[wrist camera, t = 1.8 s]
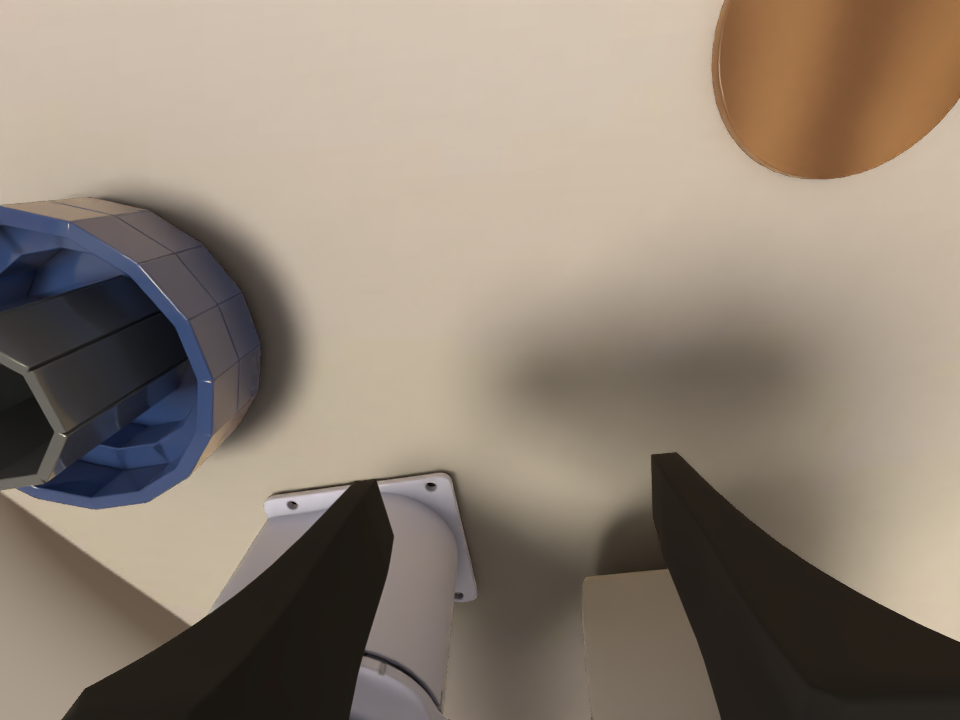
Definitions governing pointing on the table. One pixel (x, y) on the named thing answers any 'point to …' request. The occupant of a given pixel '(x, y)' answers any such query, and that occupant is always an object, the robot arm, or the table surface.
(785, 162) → the coaster
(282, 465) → the table surface
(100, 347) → the cup
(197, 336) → the bowl
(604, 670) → the alarm clock
